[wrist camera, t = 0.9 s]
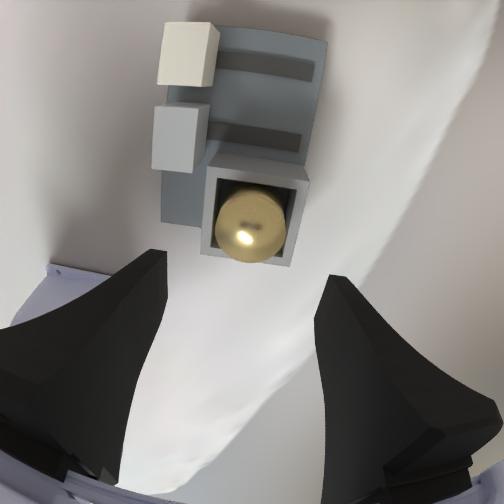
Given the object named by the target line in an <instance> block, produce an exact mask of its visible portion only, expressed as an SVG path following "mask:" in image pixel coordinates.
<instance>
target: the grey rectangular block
mask: <svg viewBox="0 0 504 504" xmlns="http://www.w3.org/2000/svg"><path fill="white" fill-rule="evenodd" d="M209 110H210V104H202V103H188V102H170V103H166V104H161V105H158V106H155V110H154V124H153V141H152V163H151V169H156V170H166V171H176V172H185V173H193V172H194V170H195V169H196V168H197V167H198V165H199V164H200V163H201V161H202V160H203V159H204V156H205V146H206V137H207V128H208V119H209Z"/></svg>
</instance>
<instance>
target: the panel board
mask: <svg viewBox="0 0 504 504" xmlns="http://www.w3.org/2000/svg"><path fill="white" fill-rule="evenodd" d="M213 26H214V25H213ZM214 27H215V28H216V29H217V30H218V31H219V32H220V39H219V45H218V52H217V58H216V65H215V72H214V79H213V86H206V87H197V86H180V85H168V95H167V103H170V102H188V103H202V104H210V110H209V119H208V128H207V137H206V146H205V156H204V159H203V160H202V161H201V163H200V164H199V165H198V167H197V168H196V169H195V170H194V172H193V173H185V172H176V171H166V170H162V187H161V222H165V223H172V224H180V225H187V226H194V227H201V228H202V234H201V249H200V254H203V255H210V256H217V257H223V258H230V259H233V258H231V257H230V256H228V255H227V254H226V253H225V252H224V251H223V250H222V249H221V248H220V246H219V245H218V242H217V240H216V237H215V225H216V221H217V218H218V215H219V212H220V209H221V206H222V203H223V200H224V197H225V195H226V193H227V191H228V190H229V189H230V188H231V187H232V186H233V185H234V184H236V183H237V182H239V181H245V182H252V183H259V184H265V185H272V186H273V187H274V188H275V189H276V190H277V191H278V193H279V194H280V196H281V199H282V204H283V212H284V219H285V227H286V236H285V240H284V243H283V245H282V247H281V249H280V250H279V251H278V252H277V253H276V254H275V255H274V256H272V257H271V258H269V259H267V260H264V261H261V262H258V263H265V264H272V265H280V266H287V267H290V264H291V260H292V256H293V252H294V248H295V244H296V239H297V235H298V231H299V227H300V223H301V218H302V214H303V210H304V206H305V201H306V197H307V192H308V188H309V183H310V181H309V178H308V176H307V174H306V172H305V169H304V165H305V161H306V156H307V151H308V146H309V141H310V136H311V131H312V126H313V121H314V116H315V110H316V105H317V100H318V94H319V89H320V84H321V78H322V73H323V67H324V61H325V56H326V50H327V44H328V42H325V41H320V40H316V39H311V38H307V37H302V36H296V35H291V34H285V33H279V32H273V31H266V30H258V29H250V28H240V27H229V26H214Z"/></svg>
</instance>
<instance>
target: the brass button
mask: <svg viewBox="0 0 504 504" xmlns="http://www.w3.org/2000/svg"><path fill="white" fill-rule="evenodd" d="M285 236H286V227H285V219H284V212H283V204H282V199H281V196H280V194H279V193H278V191H277V190H276V189H275V188H274V187H273V186H272V185H265V184H259V183H252V182H245V181H239V182H237V183H236V184H234V185H233V186H232V187H231V188H230V189H229V190H228V191H227V193H226V195H225V197H224V200H223V203H222V206H221V209H220V212H219V215H218V218H217V221H216V225H215V237H216V240H217V242H218V245H219V246H220V248H221V249H222V250H223V251H224V252H225V253H226V254H227V255H228V256H230V257H231V258H233V259H235V260H238V261H241V262H246V263H256V262H261V261H264V260H267V259H269V258H271V257H272V256H274V255H275V254H276V253H277V252H278V251H279V250H280V249H281V247H282V245H283V243H284V240H285Z"/></svg>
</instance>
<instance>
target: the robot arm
mask: <svg viewBox="0 0 504 504" xmlns="http://www.w3.org/2000/svg"><path fill="white" fill-rule="evenodd" d="M46 271H47V276H46V277H45V278H44V280H43V281H42V282H41V283H40V284H39V286H38V287H37V288H36V289H35V290H34V292H33V293H32V294H31V295H30V297H29V298H28V299H27V300H26V302H25V303H24V304H23V305H22V307H21V308H20V309H19V311H18V312H17V313H16V315H15V316H14V318H13V320H12V322H11V325H10V327H8V328H4V329H1V330H0V504H90V503H93V504H185V503H179V502H175V501H169V500H164V499H160V498H155V497H151V496H147V495H143V494H139V493H136V492H132V491H128V490H125V489H121V488H118V487H115V486H114V485H116V484H117V483H118V479H119V470H120V462H121V457H122V452H123V442H124V437H125V431H126V426H127V421H128V417H129V412H130V408H131V403H132V399H133V396H134V392H135V388H136V384H137V381H138V378H139V375H140V372H141V369H142V367H143V364H144V362H145V359H146V357H147V355H148V352H149V350H150V347H151V345H152V343H153V340H154V338H155V335H156V333H157V331H158V328H159V326H160V323H161V320H162V317H163V313H164V310H165V306H166V303H167V299H168V287H167V251H162V250H155V249H149V250H148V251H146V252H145V253H143V254H142V255H140V256H139V257H138V258H136V259H135V260H134V261H132V262H131V263H129V264H128V265H127V266H125V267H124V268H122V269H121V270H120V271H118V272H117V273H116V274H114V275H113V276H109V275H104V274H99V273H94V272H89V271H84V270H79V269H74V268H69V267H65V266H60V265H55V264H48V265H47V266H46ZM314 333H315V346H316V352H317V358H318V364H319V370H320V376H321V382H322V388H323V394H324V403H325V427H326V428H325V438H326V439H325V465H324V466H325V467H324V480H323V489H322V498H321V504H504V460H502V461H500V462H498V463H496V464H494V465H493V466H491V467H489V468H487V469H486V470H485V471H483V472H482V473H481V474H480V475H478V476H475V477H473V478H470V475H469V471H468V468H469V467H471V466H472V464H473V462H472V458H471V455H472V454H474V453H475V452H476V451H478V450H479V449H480V448H481V447H483V446H484V445H485V444H486V443H488V442H489V441H490V440H491V439H492V438H494V437H495V436H496V435H497V434H498V433H499V431H500V430H501V428H502V426H503V420H502V418H501V415H500V413H499V410H498V408H497V405H496V403H495V402H494V400H492V399H490V398H488V397H486V396H484V395H482V394H480V393H478V392H476V391H474V390H472V389H470V388H468V387H467V386H465V385H463V384H462V383H460V382H459V381H457V380H455V379H454V378H452V377H451V376H449V375H448V374H446V373H445V372H443V371H442V370H440V369H439V368H438V367H437V366H435V365H434V364H433V363H431V362H430V361H428V360H427V359H426V358H425V357H423V356H422V355H421V354H420V353H419V352H417V351H416V350H415V349H414V348H413V347H412V346H411V345H410V344H408V343H407V342H406V341H405V340H404V339H403V338H402V337H401V336H400V335H399V334H398V333H397V332H396V331H395V330H394V329H393V328H392V327H391V326H390V325H389V324H388V323H387V322H386V321H385V320H384V319H383V318H382V316H381V315H380V314H379V313H378V312H377V311H376V310H375V309H374V308H373V306H372V305H371V304H370V303H369V302H368V301H367V300H366V298H364V296H363V295H362V294H361V293H360V291H359V290H358V289H357V288H356V287H355V286H354V285H353V284H352V283H351V281H350V280H349V279H348V278H347V277H345V276H337V275H330V274H329V277H328V280H327V283H326V286H325V289H324V292H323V294H322V297H321V300H320V303H319V306H318V308H317V311H316V314H315V317H314Z"/></svg>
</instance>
